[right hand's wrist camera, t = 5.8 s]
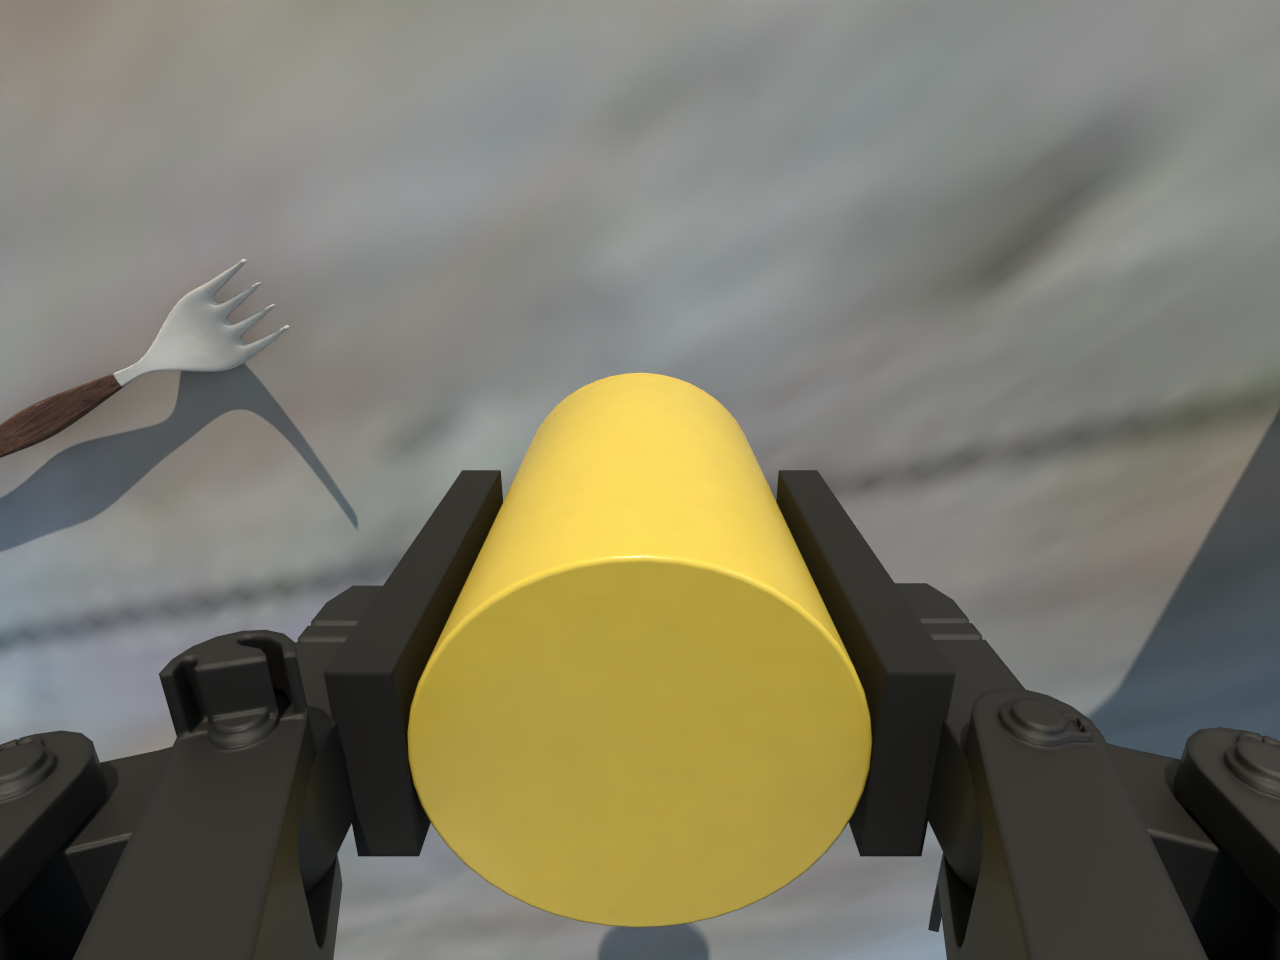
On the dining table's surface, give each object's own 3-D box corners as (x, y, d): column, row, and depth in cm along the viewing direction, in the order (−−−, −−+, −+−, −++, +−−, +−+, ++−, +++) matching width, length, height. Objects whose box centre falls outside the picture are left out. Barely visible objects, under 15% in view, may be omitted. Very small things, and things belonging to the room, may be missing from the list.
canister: (748, 359, 16) (875, 530, 7) (760, 576, 18) (871, 912, 9) (506, 386, 16) (353, 582, 7) (543, 597, 18) (457, 944, 9)
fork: (-100, 451, 25) (-160, 472, 23) (273, 248, 22) (239, 252, 20) (-44, 513, 26) (-98, 537, 24) (320, 323, 23) (292, 334, 21)
